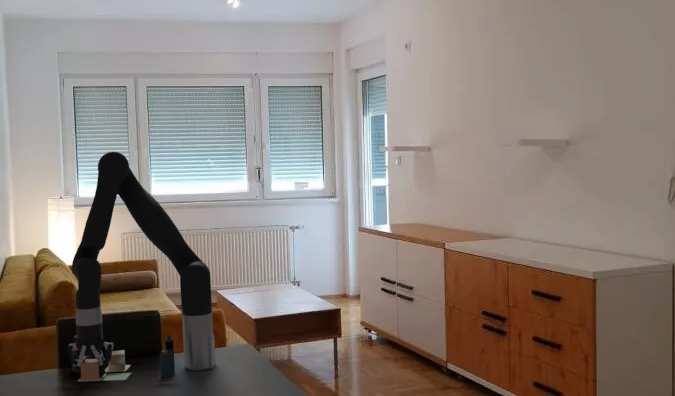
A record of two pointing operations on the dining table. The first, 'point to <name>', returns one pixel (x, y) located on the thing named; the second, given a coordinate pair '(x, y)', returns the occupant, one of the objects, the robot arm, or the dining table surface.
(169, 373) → the vaping device
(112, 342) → the robot arm
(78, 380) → the tile
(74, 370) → the supplement bottle
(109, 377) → the sage pad
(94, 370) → the terracotta block
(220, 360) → the dining table surface
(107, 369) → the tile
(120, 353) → the maple block
